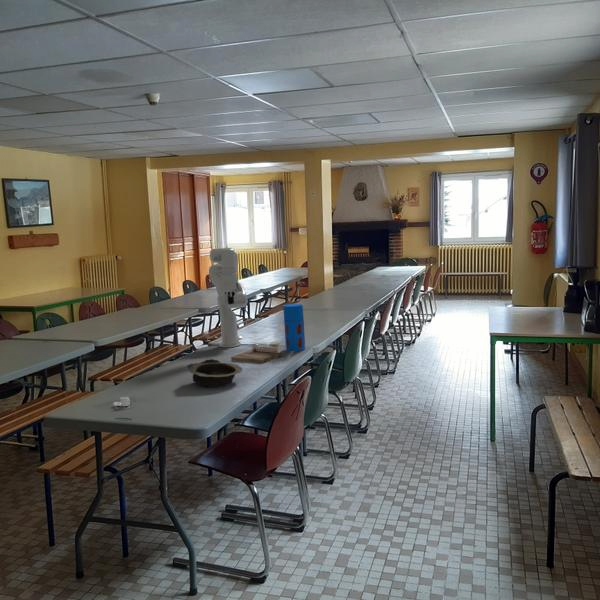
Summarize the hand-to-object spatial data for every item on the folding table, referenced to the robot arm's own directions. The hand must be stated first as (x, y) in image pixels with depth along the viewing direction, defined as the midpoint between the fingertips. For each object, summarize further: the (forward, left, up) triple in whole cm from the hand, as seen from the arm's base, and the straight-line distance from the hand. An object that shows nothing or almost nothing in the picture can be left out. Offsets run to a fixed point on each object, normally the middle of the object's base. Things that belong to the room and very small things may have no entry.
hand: (231, 303), depth 331 cm
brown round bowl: (+58, +33, -28) cm, 72 cm away
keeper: (+1, +28, -25) cm, 38 cm away
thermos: (-14, +32, -27) cm, 44 cm away
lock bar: (+4, +25, -25) cm, 35 cm away
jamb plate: (+10, +23, -27) cm, 37 cm away
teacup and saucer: (+98, +18, -28) cm, 103 cm away
